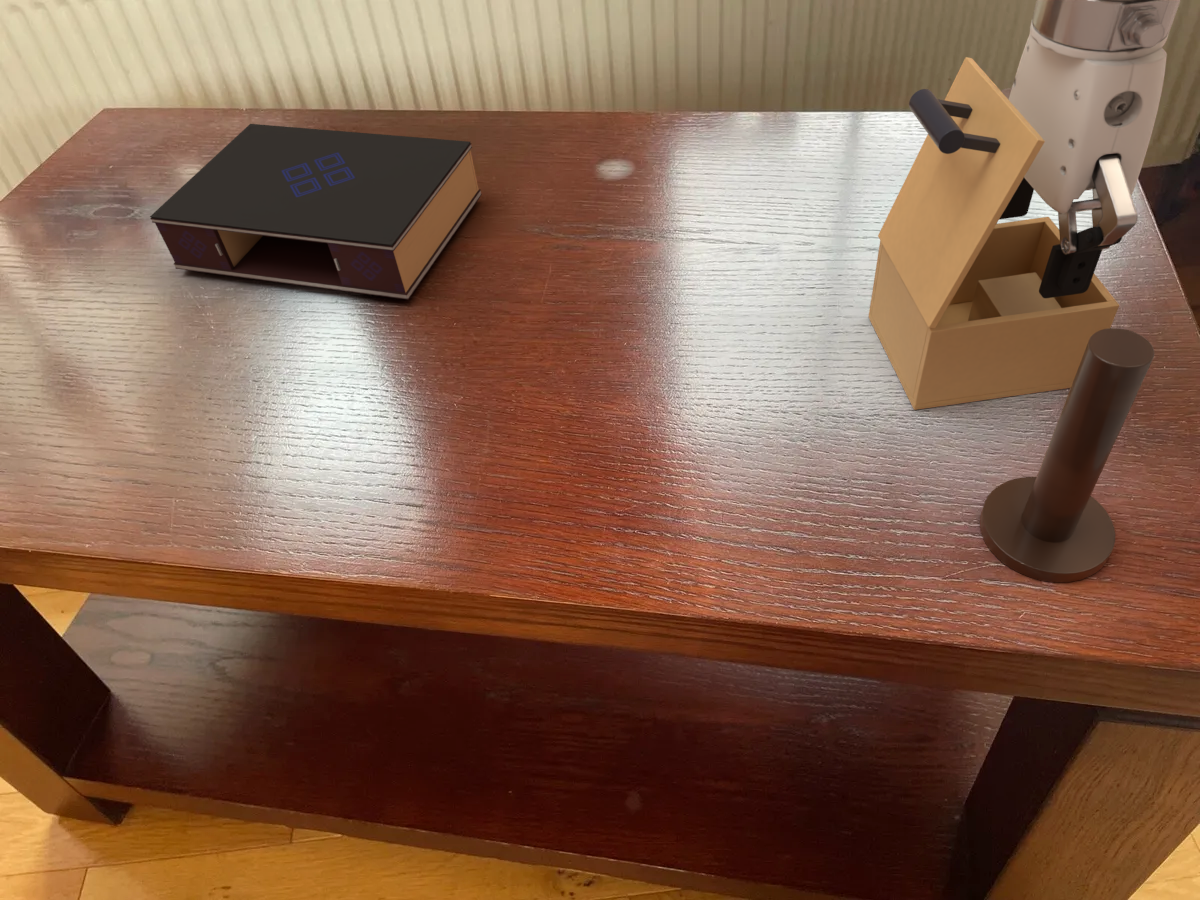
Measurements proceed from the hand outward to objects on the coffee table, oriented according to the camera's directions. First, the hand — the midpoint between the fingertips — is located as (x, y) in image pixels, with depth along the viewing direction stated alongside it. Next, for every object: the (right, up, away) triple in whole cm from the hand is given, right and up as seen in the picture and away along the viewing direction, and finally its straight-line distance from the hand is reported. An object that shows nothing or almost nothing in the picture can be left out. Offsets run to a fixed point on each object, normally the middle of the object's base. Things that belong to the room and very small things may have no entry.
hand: (1031, 252), depth 67 cm
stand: (-2, -20, -6) cm, 21 cm away
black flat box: (-57, +7, +26) cm, 63 cm away
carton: (-2, -6, +6) cm, 9 cm away
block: (+1, -6, +6) cm, 8 cm away
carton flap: (-7, +3, -4) cm, 9 cm away
